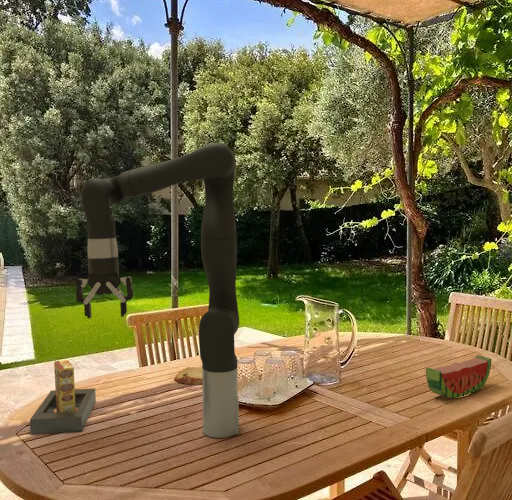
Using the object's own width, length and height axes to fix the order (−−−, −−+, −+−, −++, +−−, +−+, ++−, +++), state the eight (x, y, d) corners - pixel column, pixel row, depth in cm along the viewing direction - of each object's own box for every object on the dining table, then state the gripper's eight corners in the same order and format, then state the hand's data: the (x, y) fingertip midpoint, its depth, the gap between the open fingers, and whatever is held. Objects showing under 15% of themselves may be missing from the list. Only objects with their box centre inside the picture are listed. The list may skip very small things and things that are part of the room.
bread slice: (241, 376, 185) (241, 365, 185) (211, 391, 170) (211, 380, 169) (200, 368, 194) (200, 358, 194) (169, 382, 179) (168, 371, 179)
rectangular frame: (95, 401, 161) (95, 388, 160) (81, 431, 139) (81, 416, 139) (51, 403, 159) (51, 390, 159) (30, 434, 137) (29, 419, 137)
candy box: (76, 420, 146) (74, 366, 145) (60, 423, 144) (58, 369, 143) (70, 410, 154) (68, 358, 152) (55, 412, 152) (53, 361, 150)
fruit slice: (439, 405, 156) (440, 372, 155) (422, 399, 161) (423, 367, 161) (492, 389, 170) (493, 359, 169) (475, 383, 175) (476, 354, 175)
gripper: (71, 258, 132) (75, 321, 133) (129, 255, 134) (132, 318, 135) (77, 255, 139) (81, 315, 140) (132, 253, 141) (135, 312, 142)
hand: (106, 317), depth 138 cm, fingers open, 8 cm apart
